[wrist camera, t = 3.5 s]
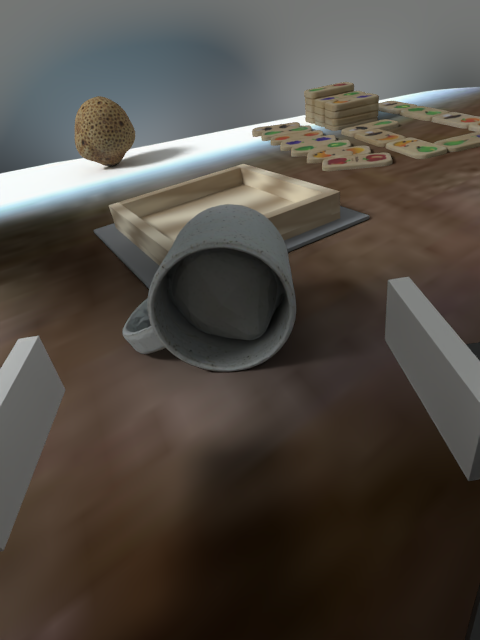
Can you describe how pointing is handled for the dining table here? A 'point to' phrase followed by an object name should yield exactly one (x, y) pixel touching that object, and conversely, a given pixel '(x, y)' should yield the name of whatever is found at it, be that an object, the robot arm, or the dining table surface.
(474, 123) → the pile of dominoes
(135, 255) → the mat
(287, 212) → the tray
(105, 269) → the dining table surface
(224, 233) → the ceramic mug
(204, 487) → the dining table surface
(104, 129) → the natural sponge
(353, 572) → the dining table surface
